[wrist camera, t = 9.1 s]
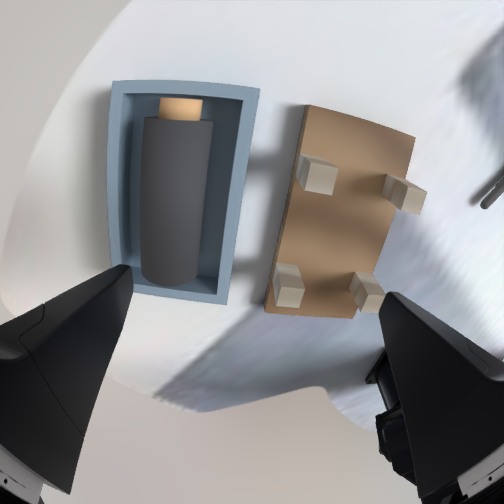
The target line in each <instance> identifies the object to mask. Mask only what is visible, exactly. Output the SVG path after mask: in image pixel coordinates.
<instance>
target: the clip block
mask: <svg viewBox="0 0 504 504" xmlns="http://www.w3.org/2000/svg"><path fill="white" fill-rule="evenodd" d="M415 138H416V137H413V136H410V135H408V134H405V133H403V132H400V131H397V130H394V129H392V128H389V127H386V126H383V125H380V124H377V123H374V122H371V121H368V120H364V119H361V118H358V117H354V116H351V115H348V114H344V113H340V112H337V111H333V110H329V109H325V108H321V107H317V106H313V105H305V111H304V116H303V121H302V126H301V132H300V137H299V142H298V147H297V152H296V157H295V162H294V167H293V172H292V176H291V181H290V186H289V191H288V196H287V201H286V205H285V210H284V215H283V219H282V224H281V229H280V233H279V238H278V242H277V247H276V251H275V256H274V260H273V265H272V269H271V274H270V278H269V282H268V287H267V291H266V295H265V300H264V312H265V313H275V314H287V315H300V316H314V317H331V318H350V319H353V317H354V315H355V313H356V310H357V308H359V310H360V312H371V313H379V309H380V307H381V304H382V302H383V300H384V298H385V295H386V294H385V293H384V291H383V289H382V288H381V286H380V285H379V283H378V282H377V280H376V279H375V277H374V275H373V274H372V273H373V271H374V268H375V266H376V263H377V261H378V258H379V255H380V253H381V250H382V247H383V245H384V242H385V239H386V237H387V234H388V231H389V228H390V225H391V222H392V219H393V216H394V213H395V210H396V207H397V208H398V209H400V210H401V211H405V212H409V213H413V214H417V215H420V213H421V210H422V207H423V204H424V201H425V198H426V194H427V192H426V191H424V190H423V189H421V188H419V187H418V186H416V185H414V184H413V183H411V182H409V181H407V180H406V179H405V177H406V174H407V170H408V166H409V163H410V159H411V155H412V151H413V147H414V143H415Z"/></svg>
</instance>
